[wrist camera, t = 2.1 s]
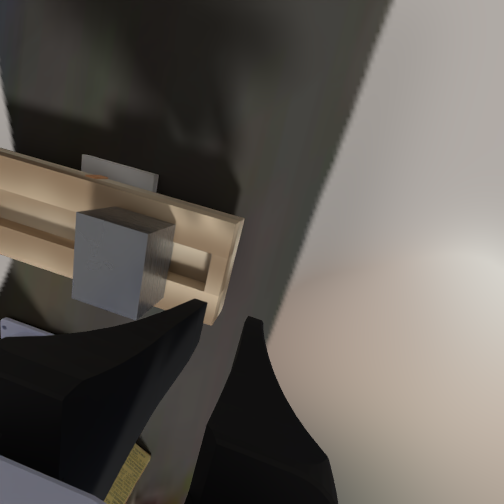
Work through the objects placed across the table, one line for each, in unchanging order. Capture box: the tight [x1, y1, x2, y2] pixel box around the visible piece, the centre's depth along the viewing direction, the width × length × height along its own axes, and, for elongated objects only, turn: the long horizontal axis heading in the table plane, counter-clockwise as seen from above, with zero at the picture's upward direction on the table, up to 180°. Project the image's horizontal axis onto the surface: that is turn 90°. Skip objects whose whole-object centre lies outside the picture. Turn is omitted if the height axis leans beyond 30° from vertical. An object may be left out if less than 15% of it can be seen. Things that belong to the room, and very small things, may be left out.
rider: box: [72, 206, 176, 320], centre depth 16 cm, size 5×4×4 cm
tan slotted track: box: [0, 148, 245, 326], centre depth 20 cm, size 9×21×4 cm, turn 75°
